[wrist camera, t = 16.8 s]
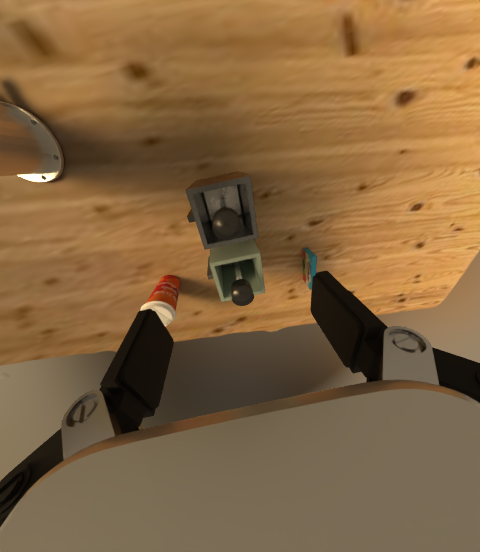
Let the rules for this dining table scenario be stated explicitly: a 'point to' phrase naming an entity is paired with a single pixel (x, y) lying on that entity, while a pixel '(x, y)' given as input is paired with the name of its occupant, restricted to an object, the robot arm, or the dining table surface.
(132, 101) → the dining table surface
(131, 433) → the robot arm
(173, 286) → the coffee cup
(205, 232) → the box
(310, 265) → the blue cardboard box
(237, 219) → the charcoal plunger
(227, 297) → the green press
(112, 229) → the dining table surface
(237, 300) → the glossy black knobbed rod
